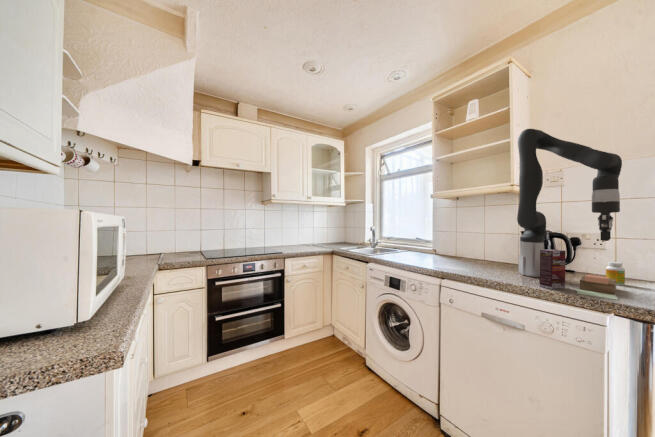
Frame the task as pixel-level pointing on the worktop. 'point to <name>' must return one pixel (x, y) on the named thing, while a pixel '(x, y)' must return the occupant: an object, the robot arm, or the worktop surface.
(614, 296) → the mat
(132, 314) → the worktop surface
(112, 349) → the worktop surface
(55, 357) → the worktop surface
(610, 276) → the supplement bottle
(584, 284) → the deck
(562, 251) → the supplement box
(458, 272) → the worktop surface
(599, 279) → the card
